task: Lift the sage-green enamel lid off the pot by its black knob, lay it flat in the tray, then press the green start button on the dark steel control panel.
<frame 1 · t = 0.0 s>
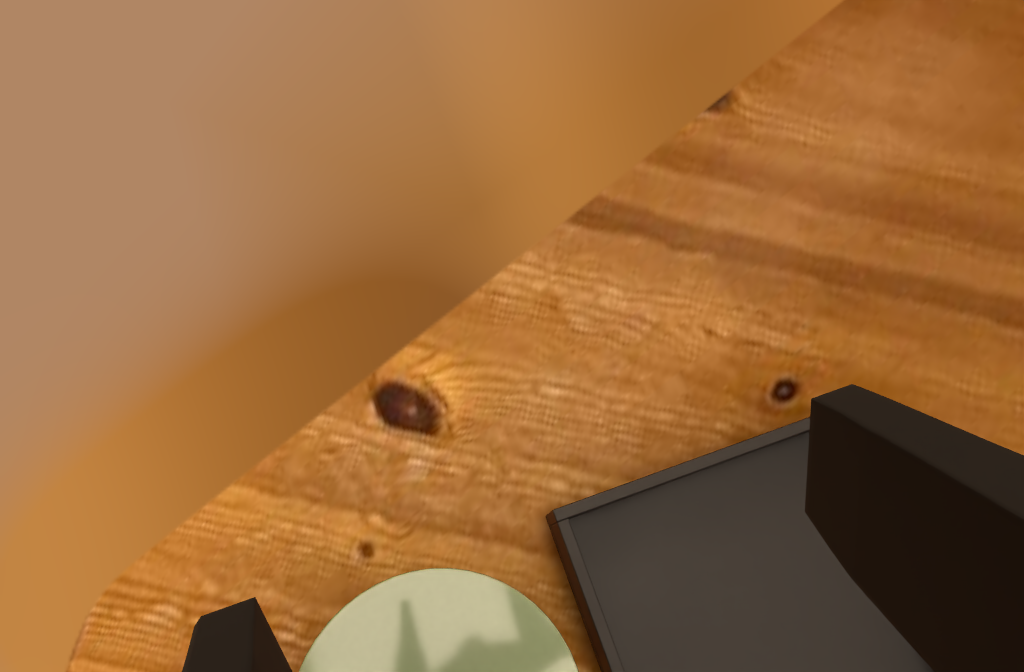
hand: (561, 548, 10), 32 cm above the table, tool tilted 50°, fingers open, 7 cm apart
tray: (754, 626, 42), on the table
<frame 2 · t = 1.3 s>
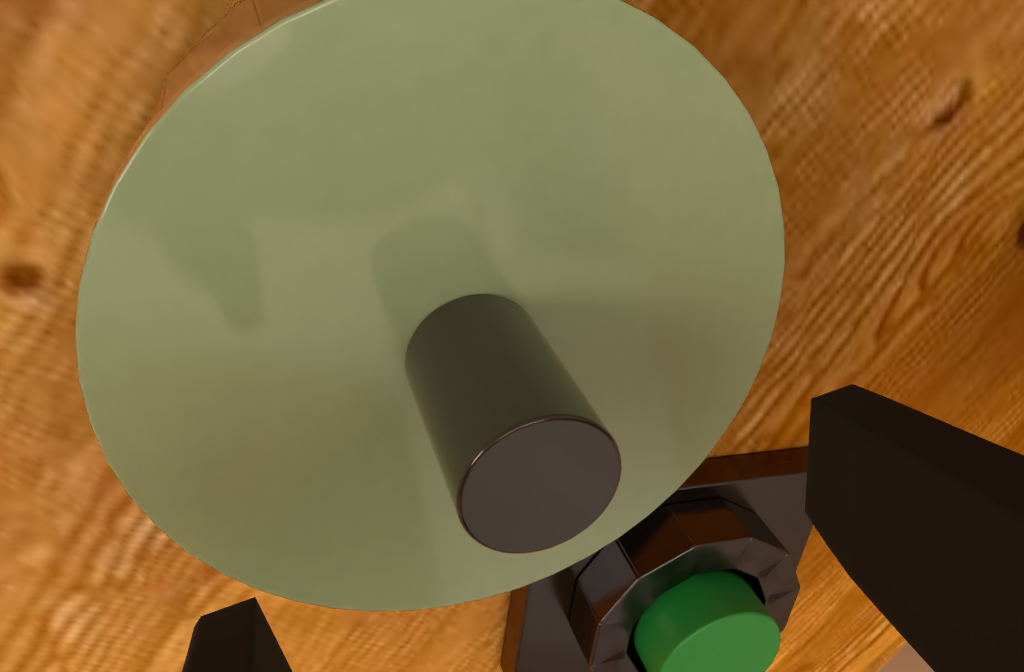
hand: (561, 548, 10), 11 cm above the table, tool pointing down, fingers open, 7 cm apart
start button: (706, 640, 25), point 4 cm above the table, slide at 0.1 cm
panel: (654, 556, 28), on the table
lid: (465, 340, 15), point 5 cm above the table, touching pot
pot: (405, 224, 19), on the table
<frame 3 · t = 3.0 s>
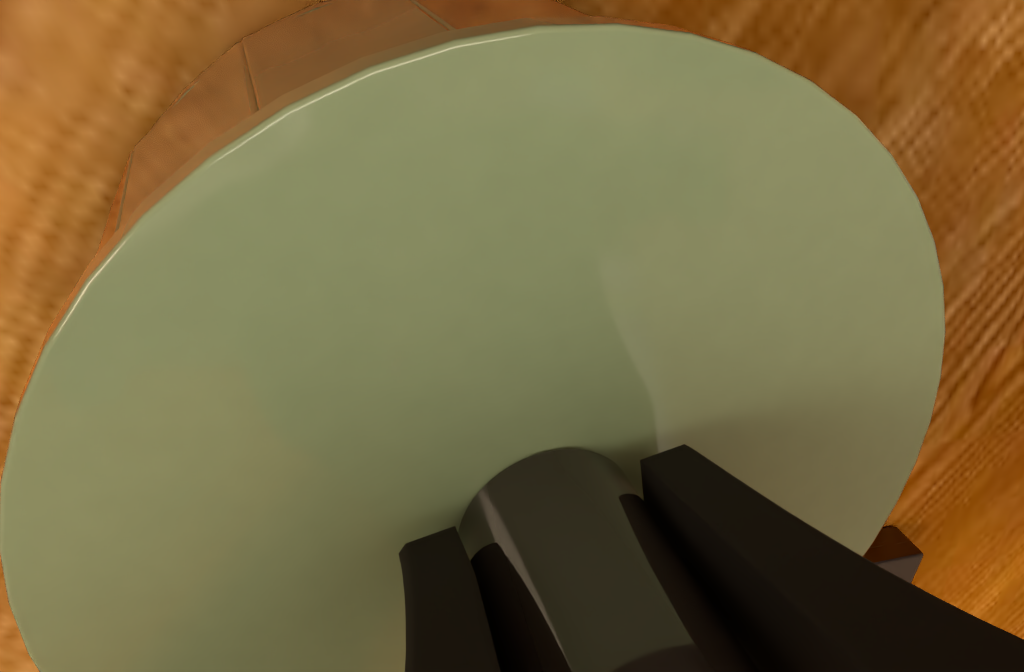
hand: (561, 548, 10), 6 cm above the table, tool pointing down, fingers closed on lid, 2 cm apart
panel: (715, 654, 24), on the table
lid: (532, 496, 11), point 5 cm above the table, touching gripper, pot
pot: (436, 310, 15), on the table
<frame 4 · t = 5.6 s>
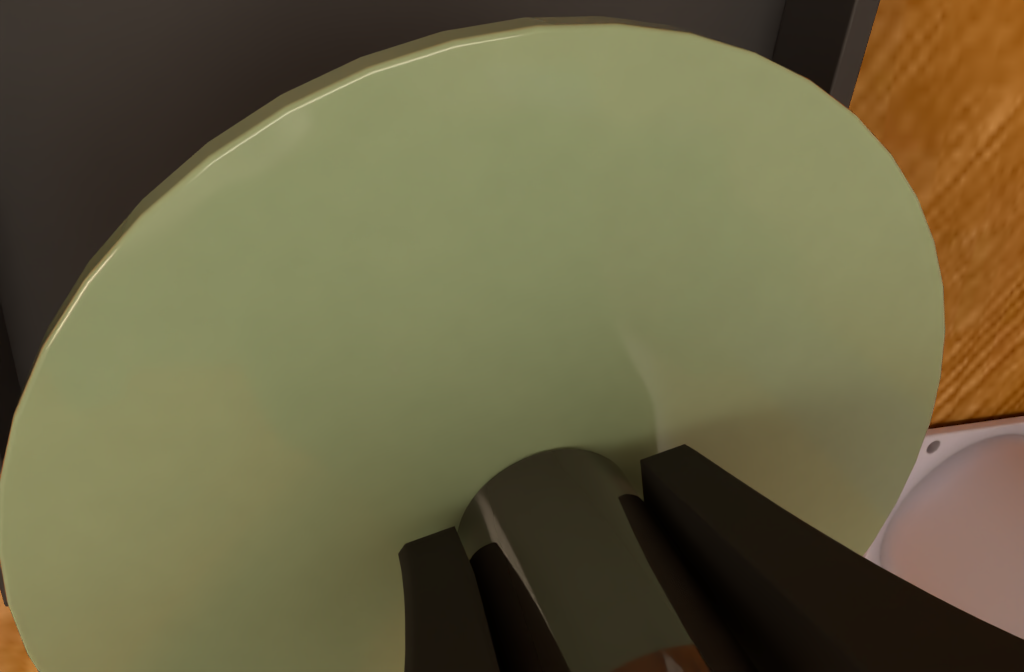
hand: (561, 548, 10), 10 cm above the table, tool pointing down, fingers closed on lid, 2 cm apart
tray: (409, 171, 18), on the table
lid: (531, 496, 11), point 9 cm above the table, touching gripper
when the fingers open (2 cm above the table, at t = 8.1 s): lid stays where it is, resting on tray.
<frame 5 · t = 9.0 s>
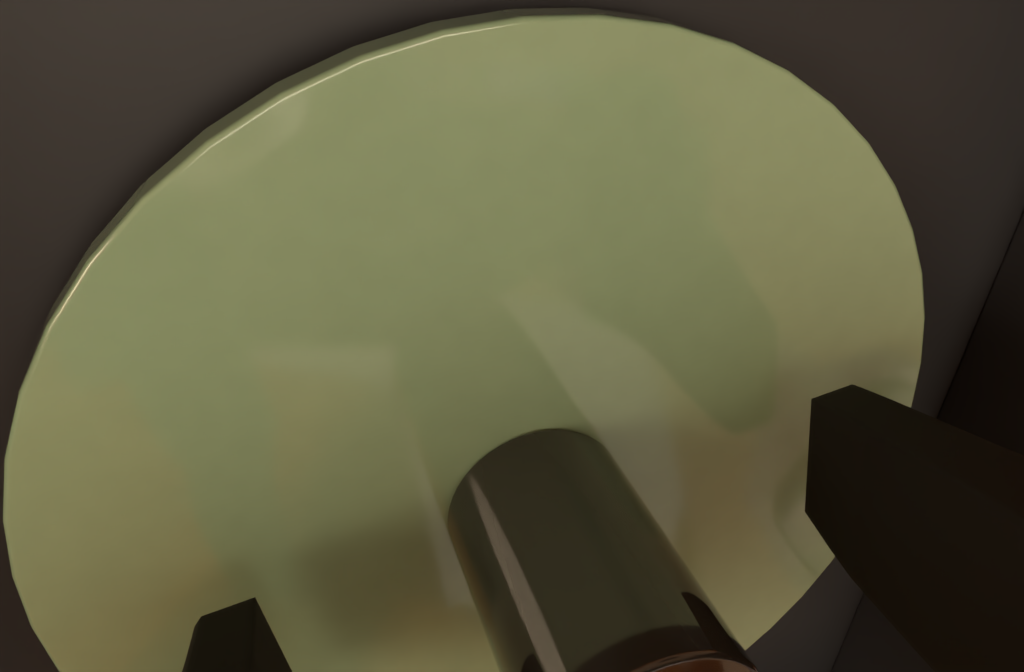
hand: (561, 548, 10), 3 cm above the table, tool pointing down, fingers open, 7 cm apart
tray: (498, 427, 12), on the table
lid: (521, 477, 11), point 1 cm above the table, touching tray
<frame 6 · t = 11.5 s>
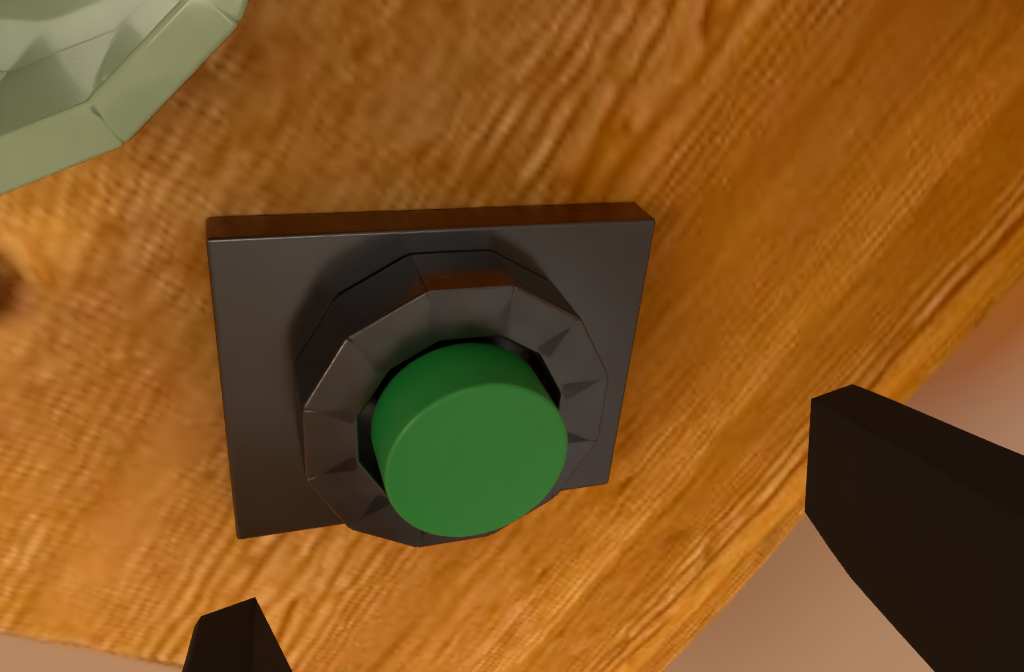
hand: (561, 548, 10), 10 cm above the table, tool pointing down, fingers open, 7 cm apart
start button: (468, 440, 18), point 4 cm above the table, slide at 0.1 cm
panel: (431, 357, 21), on the table
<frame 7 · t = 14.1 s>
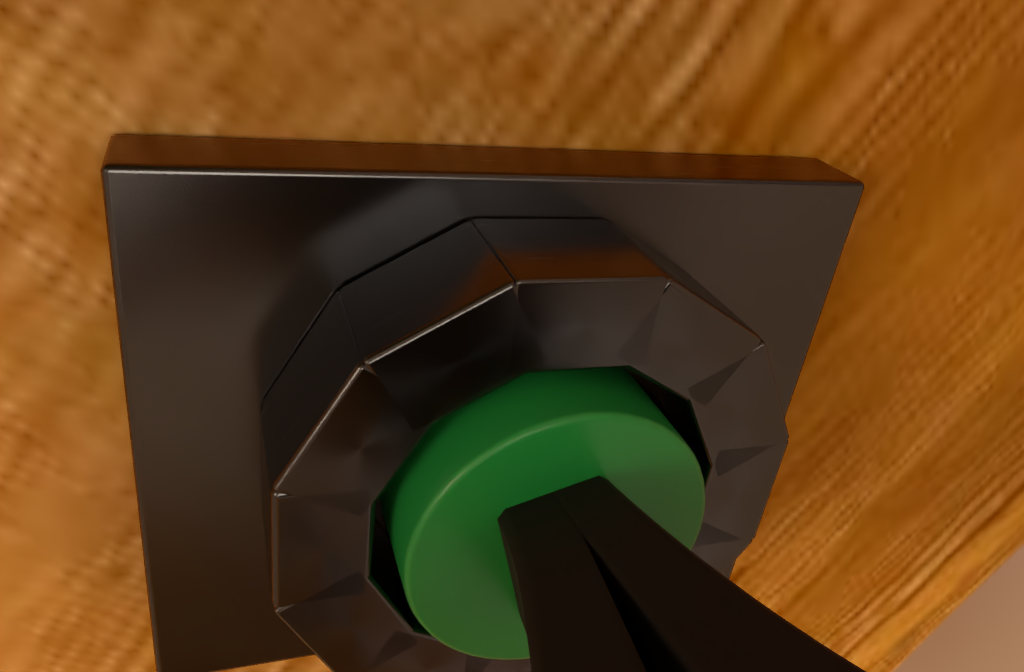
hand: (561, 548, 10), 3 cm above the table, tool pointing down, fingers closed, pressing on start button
start button: (539, 502, 11), point 3 cm above the table, slide at -0.7 cm, touching gripper
panel: (483, 393, 13), on the table
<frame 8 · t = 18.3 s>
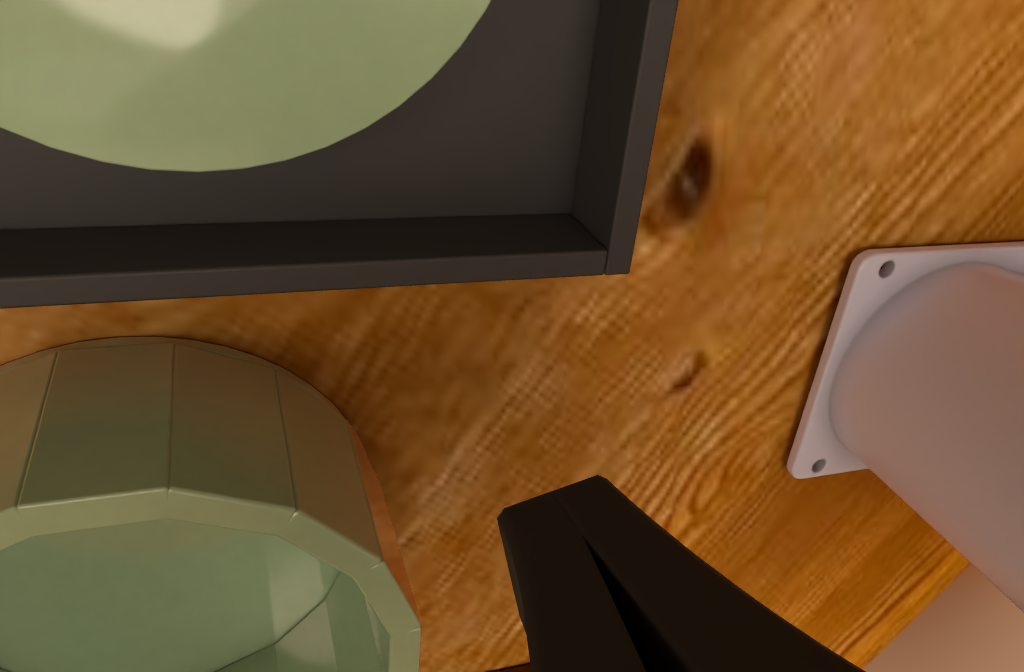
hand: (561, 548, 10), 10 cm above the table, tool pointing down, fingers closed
pot: (149, 534, 21), on the table
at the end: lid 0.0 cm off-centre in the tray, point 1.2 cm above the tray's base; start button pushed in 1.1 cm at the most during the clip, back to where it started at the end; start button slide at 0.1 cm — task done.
